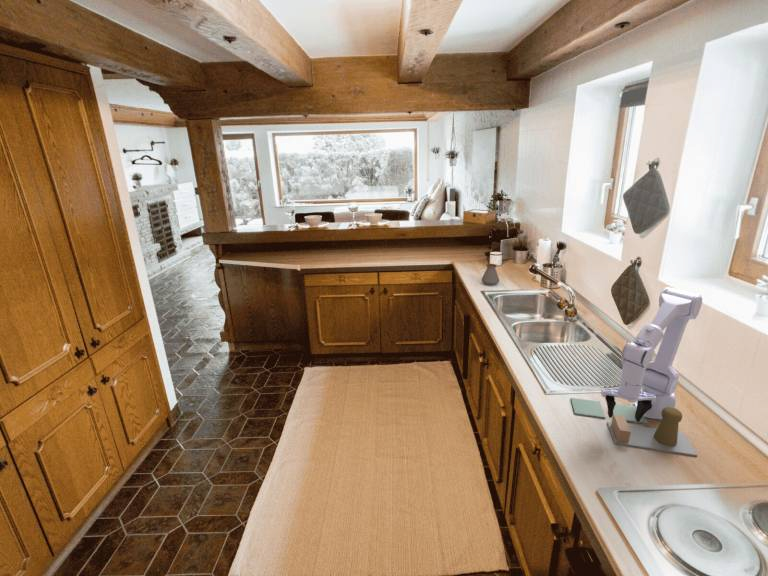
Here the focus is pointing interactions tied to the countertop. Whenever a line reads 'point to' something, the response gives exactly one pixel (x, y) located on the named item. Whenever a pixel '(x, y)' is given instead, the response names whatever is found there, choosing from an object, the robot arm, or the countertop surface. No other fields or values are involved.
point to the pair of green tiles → (596, 410)
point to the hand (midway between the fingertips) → (623, 417)
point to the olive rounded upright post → (668, 426)
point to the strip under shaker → (645, 437)
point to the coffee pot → (490, 275)
